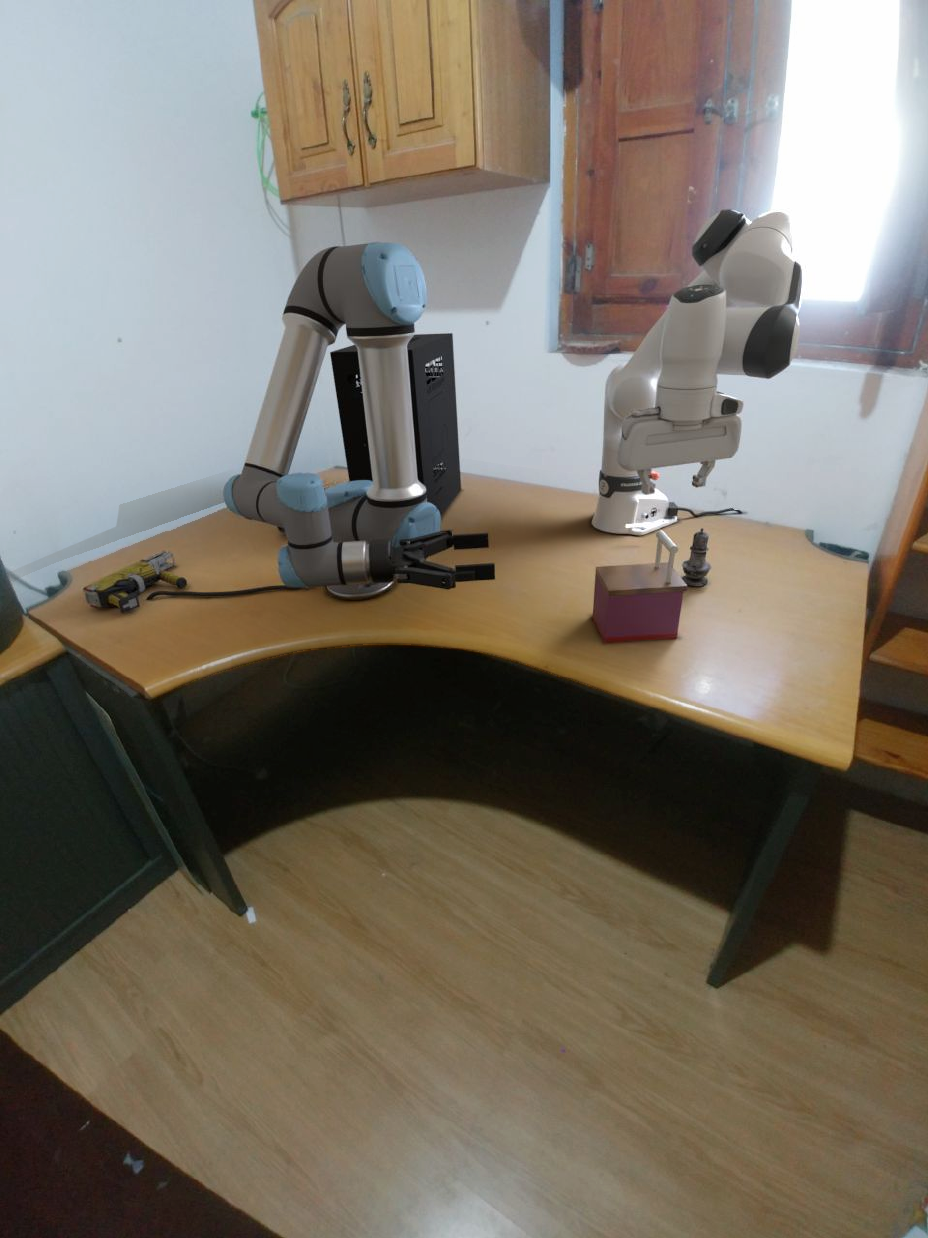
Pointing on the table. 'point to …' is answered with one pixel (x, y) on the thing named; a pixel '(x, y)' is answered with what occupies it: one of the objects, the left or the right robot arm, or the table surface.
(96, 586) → the toy gun
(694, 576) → the pewter chess piece
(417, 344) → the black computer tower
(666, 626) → the chest
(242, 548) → the table surface
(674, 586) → the lid
